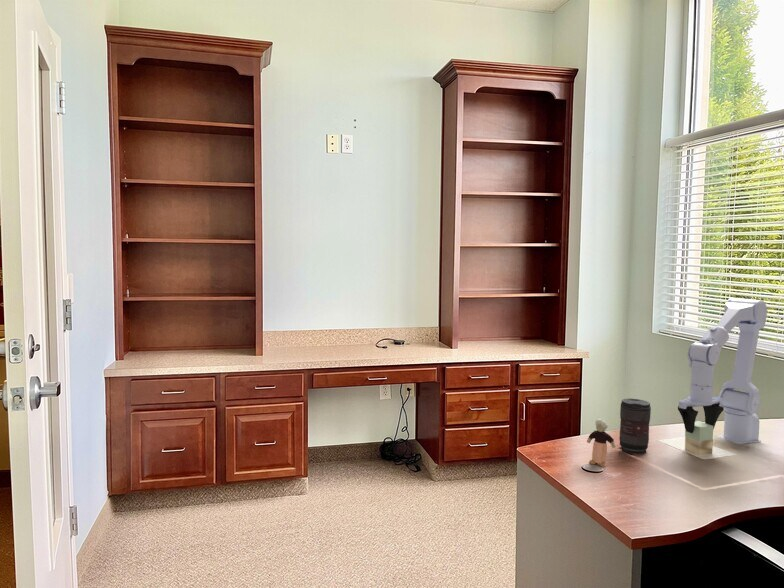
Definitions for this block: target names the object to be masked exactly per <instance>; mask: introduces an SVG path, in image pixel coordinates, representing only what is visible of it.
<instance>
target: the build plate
mask: <svg viewBox="0 0 784 588" xmlns="http://www.w3.org/2000/svg"><path fill="white" fill-rule="evenodd" d="M657 441H658V442H660V443H663V444H665V445H667V446H670V447H672V448H675V449H677V450H679V451H682V452H684V453H687V454H689V455H692V456H693V457H697V458H699V459H700V460H701V459H702V460H703V461H705V460H711V459H716V458H717V459H719V458H724V457H730V456H731V457H732V456H736V453H732V452H729V451H727V450H725V449H722V448H719V447H717V446H714V445H713V449H712V453H711V454H704V455H697V454H695V453H692V452H690V451H687V450H685V436H680V437H672V438H664V439H657Z"/></svg>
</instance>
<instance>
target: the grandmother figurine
mask: <svg viewBox="0 0 784 588" xmlns="http://www.w3.org/2000/svg"><path fill="white" fill-rule="evenodd" d="M608 428H609V425H608V423H607V421H606V420H605V419H604V418H597V419H596V420H595V429H596V430H593V431H592V432H591V433H590V434H589V435H588V437H587V440H586V443H588V444H590V443H591V442H592V441H593V439H594V441H593V445H592V453H591V459H590V460H589V462H588V463H589V464H591V465H597V464H598V466H599V465H600V466H599V467H606V466H607V457H608V456H607V455H608V446H607V445H608V443H609V444H610V446H611V448H613V449H615V448H616V446H617V445H616V444H615V439H614V438H613V437H612V436H611V435H610V434H608V433H607V432H606V430H607V429H608ZM607 442H608V443H607ZM596 463H597V464H596Z"/></svg>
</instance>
